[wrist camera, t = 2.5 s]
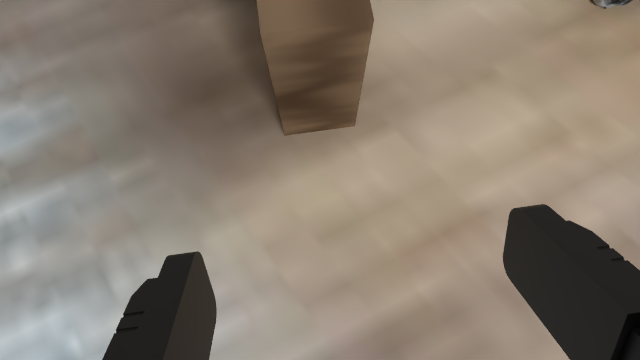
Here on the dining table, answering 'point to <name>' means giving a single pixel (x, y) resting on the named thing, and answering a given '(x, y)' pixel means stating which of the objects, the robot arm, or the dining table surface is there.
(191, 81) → the dining table surface
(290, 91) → the walnut block
